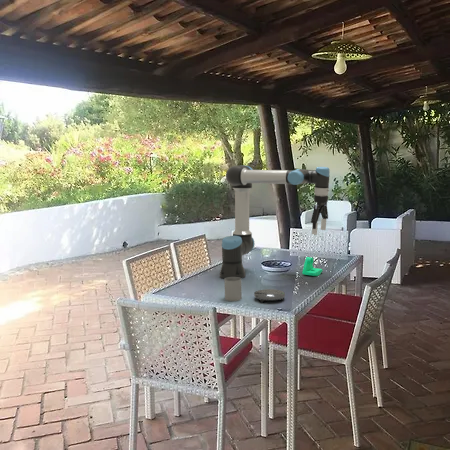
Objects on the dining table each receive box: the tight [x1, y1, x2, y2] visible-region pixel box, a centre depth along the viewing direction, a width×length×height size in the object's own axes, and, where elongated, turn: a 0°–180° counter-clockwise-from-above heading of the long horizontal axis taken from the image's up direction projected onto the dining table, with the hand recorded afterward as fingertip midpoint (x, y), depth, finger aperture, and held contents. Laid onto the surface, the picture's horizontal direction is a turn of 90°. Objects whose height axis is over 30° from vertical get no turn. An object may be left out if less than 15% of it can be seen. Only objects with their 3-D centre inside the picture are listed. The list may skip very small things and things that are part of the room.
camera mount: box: [302, 256, 323, 277], centre depth 291 cm, size 12×8×10 cm, turn 145°
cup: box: [224, 277, 243, 302], centre depth 245 cm, size 8×8×10 cm
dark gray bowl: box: [253, 288, 286, 303], centre depth 243 cm, size 15×15×3 cm
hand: (318, 232), depth 278 cm, fingers open, 13 cm apart
